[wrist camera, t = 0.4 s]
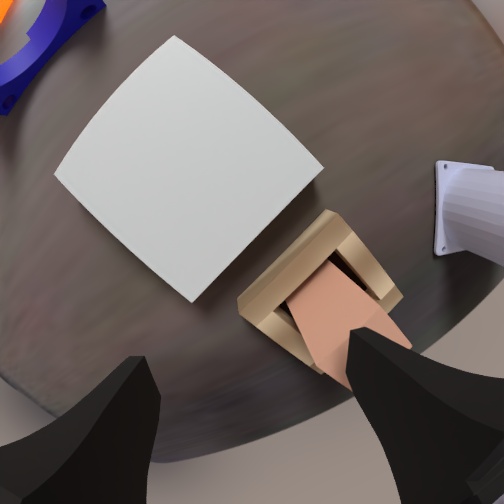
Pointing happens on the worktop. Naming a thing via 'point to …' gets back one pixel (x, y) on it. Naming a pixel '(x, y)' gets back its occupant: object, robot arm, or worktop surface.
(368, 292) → the socket
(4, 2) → the orange juice
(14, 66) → the cable clip
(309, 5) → the worktop surface
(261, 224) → the platform
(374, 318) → the block
